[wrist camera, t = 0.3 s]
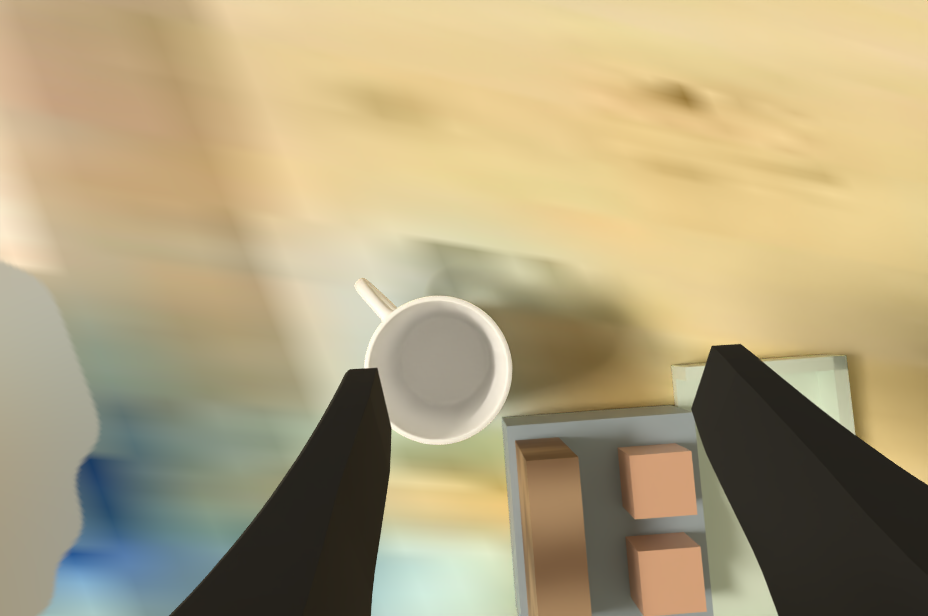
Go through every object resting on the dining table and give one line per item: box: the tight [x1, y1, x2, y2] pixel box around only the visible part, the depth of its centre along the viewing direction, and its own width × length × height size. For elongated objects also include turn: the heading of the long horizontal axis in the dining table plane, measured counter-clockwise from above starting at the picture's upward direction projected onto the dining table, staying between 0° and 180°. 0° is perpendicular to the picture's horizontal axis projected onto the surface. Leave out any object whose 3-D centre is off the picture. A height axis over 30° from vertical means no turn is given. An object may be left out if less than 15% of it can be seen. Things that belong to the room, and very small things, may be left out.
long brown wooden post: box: [515, 437, 592, 616], centre depth 32 cm, size 12×3×6 cm, turn 4°
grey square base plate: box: [502, 405, 714, 616], centre depth 37 cm, size 14×13×4 cm
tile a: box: [625, 532, 707, 616], centre depth 34 cm, size 4×4×2 cm
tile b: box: [617, 443, 698, 519], centre depth 34 cm, size 4×4×2 cm
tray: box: [671, 354, 855, 616], centre depth 38 cm, size 20×12×2 cm, turn 4°
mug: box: [355, 278, 512, 445], centre depth 34 cm, size 12×8×12 cm
